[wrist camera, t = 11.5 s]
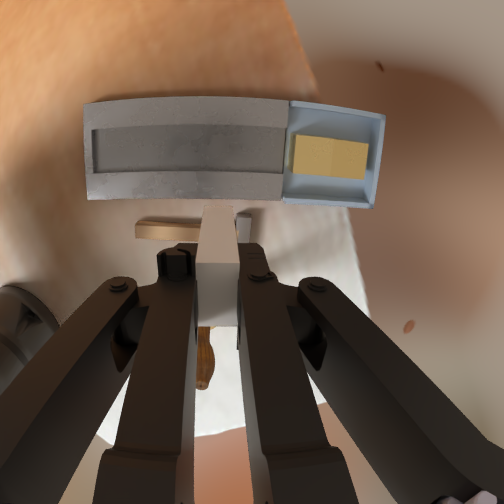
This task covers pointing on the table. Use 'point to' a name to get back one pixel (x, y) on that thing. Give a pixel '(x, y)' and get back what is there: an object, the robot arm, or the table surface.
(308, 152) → the yellow square block
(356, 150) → the chip
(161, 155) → the slot board
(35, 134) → the table surface
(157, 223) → the hammer
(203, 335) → the hand bell
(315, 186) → the tray
